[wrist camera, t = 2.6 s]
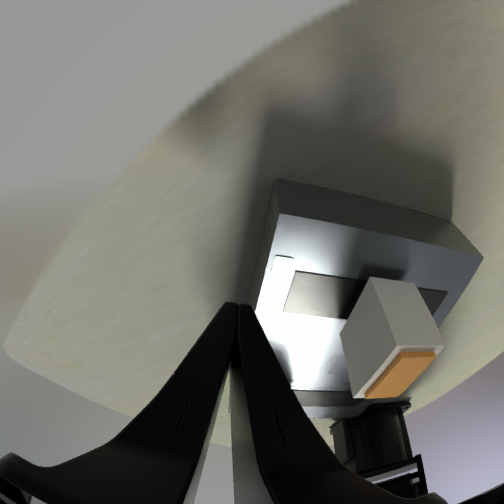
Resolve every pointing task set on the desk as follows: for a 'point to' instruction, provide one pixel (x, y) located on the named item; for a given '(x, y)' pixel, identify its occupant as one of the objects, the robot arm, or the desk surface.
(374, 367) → the handle
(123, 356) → the desk surface
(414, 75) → the desk surface
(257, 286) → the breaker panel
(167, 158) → the desk surface
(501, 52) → the desk surface
